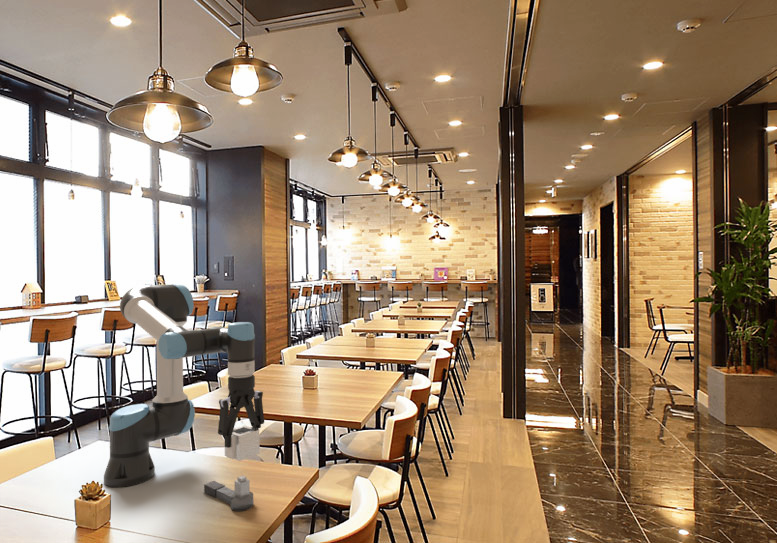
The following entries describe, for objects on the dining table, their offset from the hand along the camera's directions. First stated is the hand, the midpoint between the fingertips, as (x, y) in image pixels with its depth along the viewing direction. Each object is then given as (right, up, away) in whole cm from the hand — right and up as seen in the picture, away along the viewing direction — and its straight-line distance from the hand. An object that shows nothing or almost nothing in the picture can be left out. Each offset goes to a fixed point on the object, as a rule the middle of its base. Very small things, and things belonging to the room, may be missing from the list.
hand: (242, 453), depth 141 cm
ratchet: (-5, -15, +4) cm, 17 cm away
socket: (0, 0, 0) cm, 0 cm away
